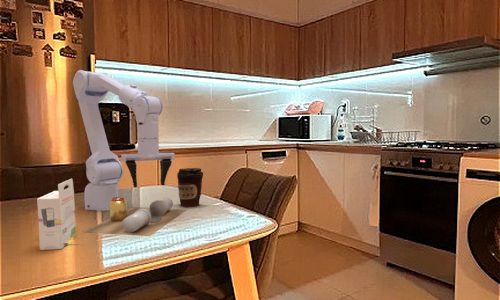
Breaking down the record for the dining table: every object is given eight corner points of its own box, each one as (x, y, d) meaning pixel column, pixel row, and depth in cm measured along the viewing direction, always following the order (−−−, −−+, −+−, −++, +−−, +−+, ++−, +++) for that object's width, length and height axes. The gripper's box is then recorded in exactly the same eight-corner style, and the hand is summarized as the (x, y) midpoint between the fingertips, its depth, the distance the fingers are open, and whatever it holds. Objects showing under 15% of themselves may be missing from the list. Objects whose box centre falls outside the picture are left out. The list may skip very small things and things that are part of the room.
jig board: (82, 235, 90) (82, 231, 90) (133, 210, 116) (132, 207, 116) (150, 239, 87) (150, 235, 87) (187, 212, 113) (187, 209, 113)
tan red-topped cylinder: (107, 221, 100) (106, 199, 99) (115, 217, 104) (114, 196, 104) (121, 222, 99) (121, 200, 99) (129, 217, 103) (129, 196, 103)
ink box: (55, 237, 89) (53, 178, 88) (76, 237, 89) (74, 177, 88) (38, 250, 80) (35, 184, 79) (61, 249, 81) (58, 184, 79)
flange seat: (135, 222, 99) (135, 221, 99) (145, 216, 104) (145, 216, 104) (156, 223, 98) (156, 222, 98) (165, 217, 103) (165, 217, 103)
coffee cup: (197, 212, 114) (197, 170, 113) (173, 210, 116) (172, 170, 114) (206, 205, 122) (206, 167, 121) (183, 204, 124) (182, 166, 123)
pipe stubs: (121, 233, 90) (120, 214, 90) (159, 210, 113) (159, 195, 112) (139, 234, 89) (138, 215, 89) (174, 211, 112) (173, 196, 112)
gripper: (122, 139, 97) (124, 190, 98) (176, 138, 103) (177, 186, 104) (120, 138, 103) (121, 185, 104) (171, 137, 109) (171, 182, 110)
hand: (149, 185), depth 105 cm, fingers open, 7 cm apart
